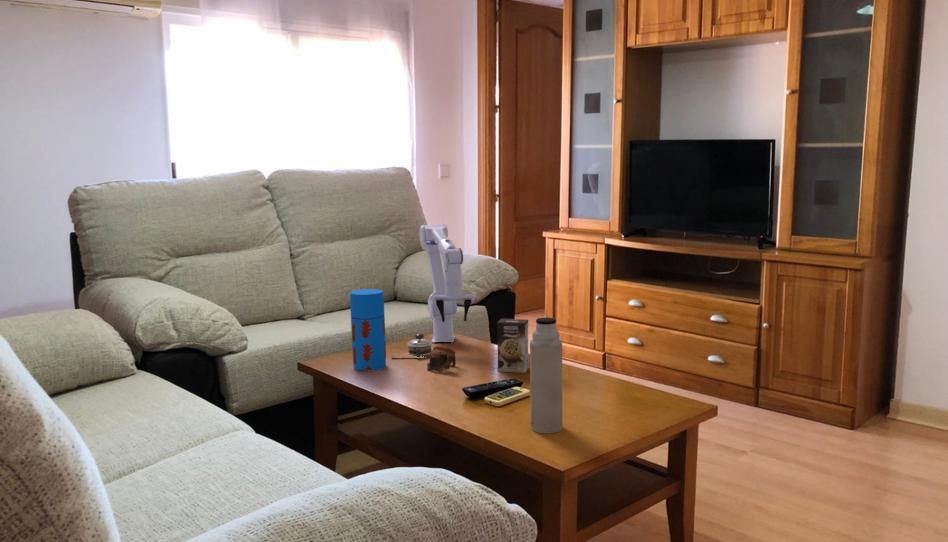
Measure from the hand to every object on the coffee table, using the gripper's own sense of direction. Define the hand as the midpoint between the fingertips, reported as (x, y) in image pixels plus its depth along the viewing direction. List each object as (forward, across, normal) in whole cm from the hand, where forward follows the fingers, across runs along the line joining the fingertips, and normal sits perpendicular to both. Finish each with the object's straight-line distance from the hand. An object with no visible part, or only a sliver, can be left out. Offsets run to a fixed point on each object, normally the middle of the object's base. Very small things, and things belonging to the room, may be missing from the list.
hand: (454, 321), depth 275 cm
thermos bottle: (+12, +27, -81) cm, 86 cm away
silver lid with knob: (+7, -12, -5) cm, 15 cm away
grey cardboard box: (+11, +20, -27) cm, 35 cm away
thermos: (+11, -27, -21) cm, 36 cm away
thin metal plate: (+10, -12, -5) cm, 17 cm away
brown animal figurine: (+11, -3, -24) cm, 27 cm away
